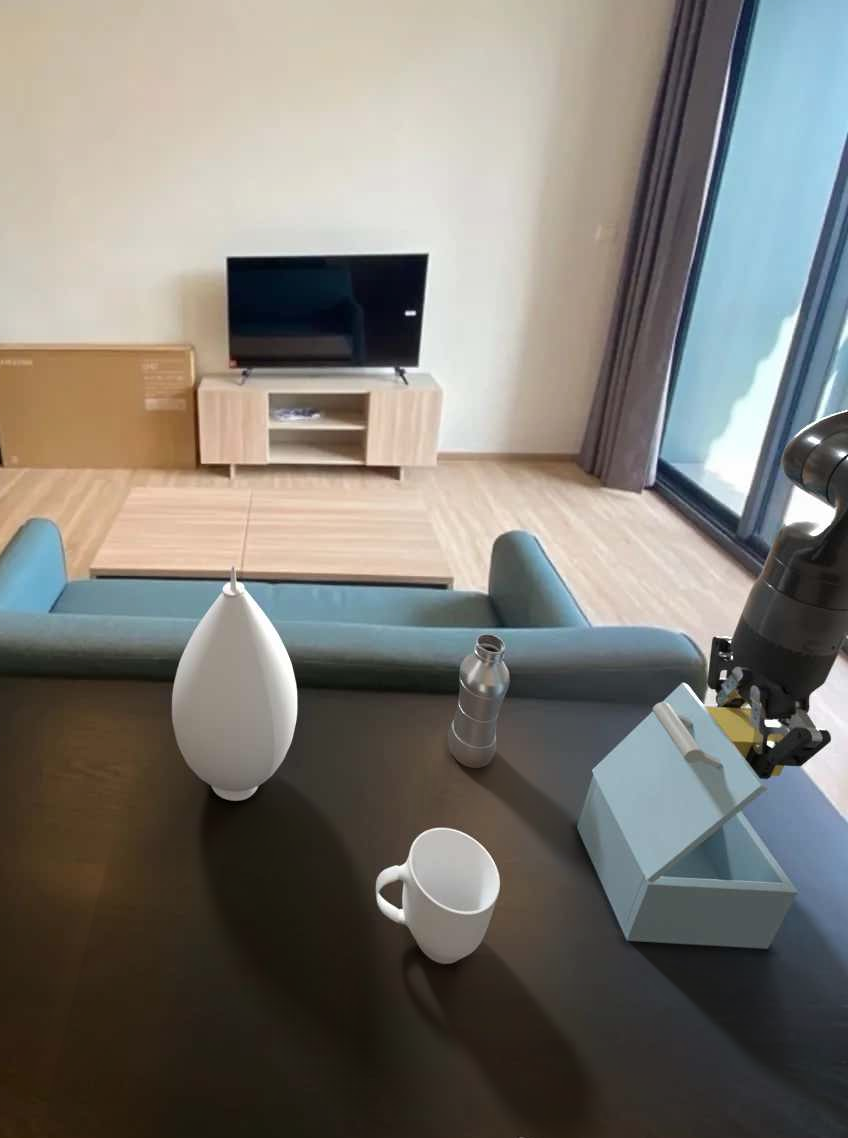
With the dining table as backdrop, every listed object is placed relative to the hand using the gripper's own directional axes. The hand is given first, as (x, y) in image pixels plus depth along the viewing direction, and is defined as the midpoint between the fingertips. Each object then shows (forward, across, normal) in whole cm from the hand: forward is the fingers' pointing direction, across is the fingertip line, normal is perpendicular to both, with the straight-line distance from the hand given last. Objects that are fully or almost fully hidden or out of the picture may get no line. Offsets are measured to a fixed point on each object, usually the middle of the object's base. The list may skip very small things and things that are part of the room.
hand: (736, 753), depth 68 cm
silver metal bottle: (+20, +16, +21) cm, 33 cm away
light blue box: (+20, -1, +3) cm, 20 cm away
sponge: (0, 0, 0) cm, 0 cm away
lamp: (+21, +10, +54) cm, 59 cm away
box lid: (+3, -1, +7) cm, 7 cm away
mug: (+20, -8, +32) cm, 39 cm away
